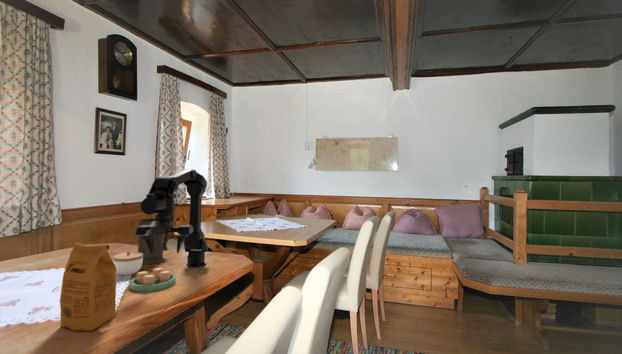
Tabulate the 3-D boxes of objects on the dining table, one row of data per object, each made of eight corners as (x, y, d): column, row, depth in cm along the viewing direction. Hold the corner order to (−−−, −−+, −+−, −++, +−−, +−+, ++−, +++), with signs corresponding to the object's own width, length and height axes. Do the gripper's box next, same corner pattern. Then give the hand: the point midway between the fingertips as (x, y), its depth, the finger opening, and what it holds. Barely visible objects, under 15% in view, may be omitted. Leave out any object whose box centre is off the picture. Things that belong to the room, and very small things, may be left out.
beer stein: (149, 265, 136) (152, 220, 138) (130, 263, 139) (133, 219, 141) (173, 259, 151) (176, 218, 152) (156, 257, 154) (158, 217, 155)
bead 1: (145, 281, 115) (145, 270, 115) (149, 283, 113) (149, 272, 113) (135, 283, 112) (135, 273, 112) (139, 286, 110) (139, 275, 110)
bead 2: (151, 285, 111) (152, 274, 111) (156, 287, 109) (156, 276, 109) (141, 287, 109) (141, 276, 109) (145, 290, 106) (145, 278, 106)
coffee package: (88, 312, 91) (88, 238, 91) (121, 317, 88) (122, 241, 88) (52, 328, 82) (52, 245, 81) (88, 335, 78) (88, 249, 78)
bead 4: (158, 285, 111) (158, 274, 111) (161, 281, 115) (161, 271, 115) (168, 284, 112) (168, 273, 112) (171, 281, 115) (171, 270, 115)
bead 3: (154, 278, 118) (154, 268, 118) (164, 278, 119) (164, 267, 119) (151, 281, 115) (151, 271, 115) (161, 281, 115) (161, 270, 115)
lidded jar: (129, 279, 119) (129, 255, 119) (106, 277, 121) (106, 253, 121) (149, 271, 130) (149, 248, 130) (127, 269, 132) (127, 247, 132)
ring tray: (164, 276, 123) (164, 269, 123) (183, 285, 114) (183, 278, 114) (123, 286, 112) (123, 279, 112) (140, 297, 102) (140, 289, 102)
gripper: (127, 213, 104) (127, 259, 104) (184, 213, 106) (184, 258, 106) (142, 210, 115) (142, 251, 115) (193, 210, 117) (193, 250, 117)
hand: (165, 253), depth 113 cm, fingers open, 9 cm apart
